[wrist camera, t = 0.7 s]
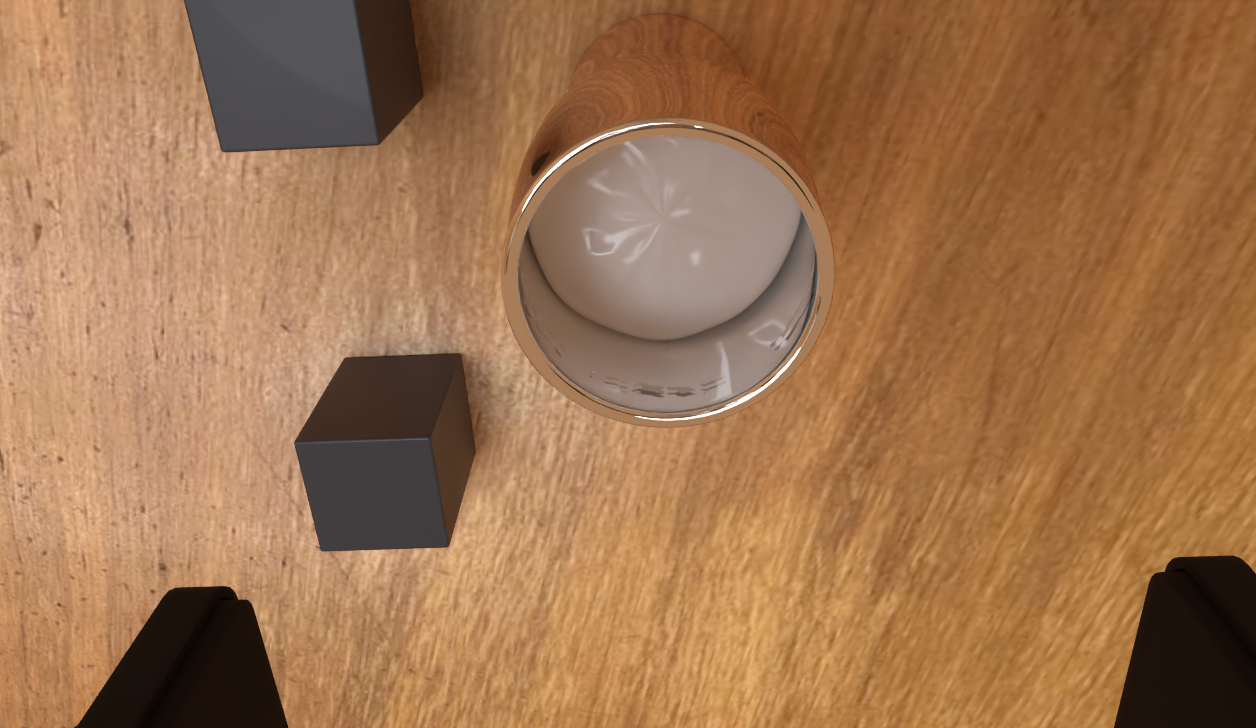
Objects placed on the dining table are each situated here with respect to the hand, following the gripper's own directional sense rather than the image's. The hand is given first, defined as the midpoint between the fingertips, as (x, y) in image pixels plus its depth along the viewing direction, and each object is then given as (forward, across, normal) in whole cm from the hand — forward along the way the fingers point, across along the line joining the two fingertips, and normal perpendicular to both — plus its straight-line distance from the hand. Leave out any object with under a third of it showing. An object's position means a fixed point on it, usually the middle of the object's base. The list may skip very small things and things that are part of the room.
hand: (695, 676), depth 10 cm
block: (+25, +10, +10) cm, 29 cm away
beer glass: (+25, 0, -1) cm, 25 cm away
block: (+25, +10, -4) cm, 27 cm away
